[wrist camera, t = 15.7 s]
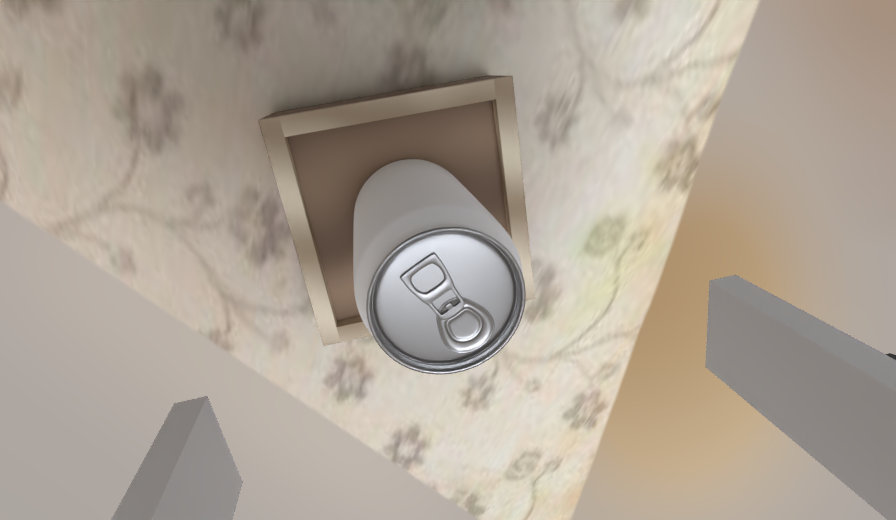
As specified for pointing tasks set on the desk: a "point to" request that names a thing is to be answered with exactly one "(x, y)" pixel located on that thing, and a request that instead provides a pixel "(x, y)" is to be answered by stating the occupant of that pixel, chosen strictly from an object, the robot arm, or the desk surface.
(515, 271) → the can
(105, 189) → the desk surface
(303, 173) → the wooden tray
